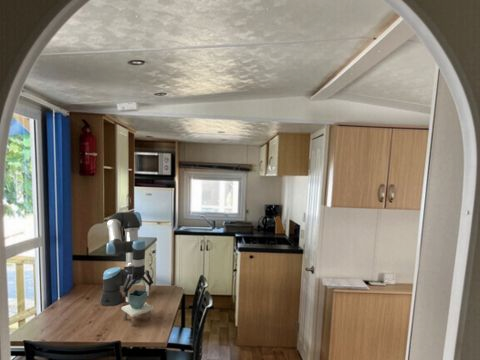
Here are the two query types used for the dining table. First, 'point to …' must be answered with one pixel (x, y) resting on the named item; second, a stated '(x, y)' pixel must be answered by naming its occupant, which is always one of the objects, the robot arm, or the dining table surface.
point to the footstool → (137, 311)
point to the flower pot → (137, 298)
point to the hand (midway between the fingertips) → (137, 298)
